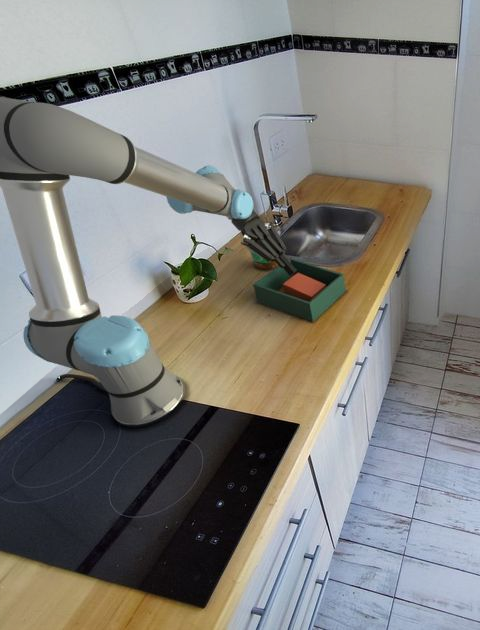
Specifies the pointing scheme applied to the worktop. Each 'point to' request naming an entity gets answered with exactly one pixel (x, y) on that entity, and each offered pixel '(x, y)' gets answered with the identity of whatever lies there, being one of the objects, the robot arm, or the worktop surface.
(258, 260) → the food container
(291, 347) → the worktop surface
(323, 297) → the bin
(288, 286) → the carton
